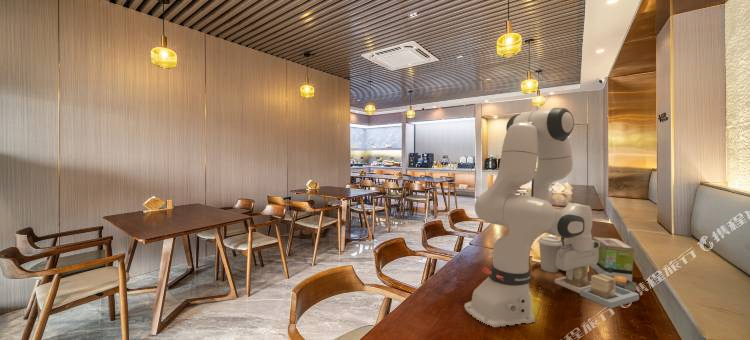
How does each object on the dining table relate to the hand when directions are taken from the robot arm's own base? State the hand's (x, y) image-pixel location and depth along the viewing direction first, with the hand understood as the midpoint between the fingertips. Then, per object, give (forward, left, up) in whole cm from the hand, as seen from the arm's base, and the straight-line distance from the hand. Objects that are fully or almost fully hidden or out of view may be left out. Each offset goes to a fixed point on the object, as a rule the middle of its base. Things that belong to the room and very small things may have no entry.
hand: (576, 277), depth 115 cm
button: (+13, -8, -3) cm, 15 cm away
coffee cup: (+6, +16, -4) cm, 18 cm away
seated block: (-3, -11, -3) cm, 12 cm away
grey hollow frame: (+1, -11, -4) cm, 12 cm away
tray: (0, 0, -4) cm, 4 cm away
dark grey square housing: (+13, -8, -4) cm, 16 cm away
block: (0, 0, -3) cm, 3 cm away
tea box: (+27, +3, -4) cm, 28 cm away
